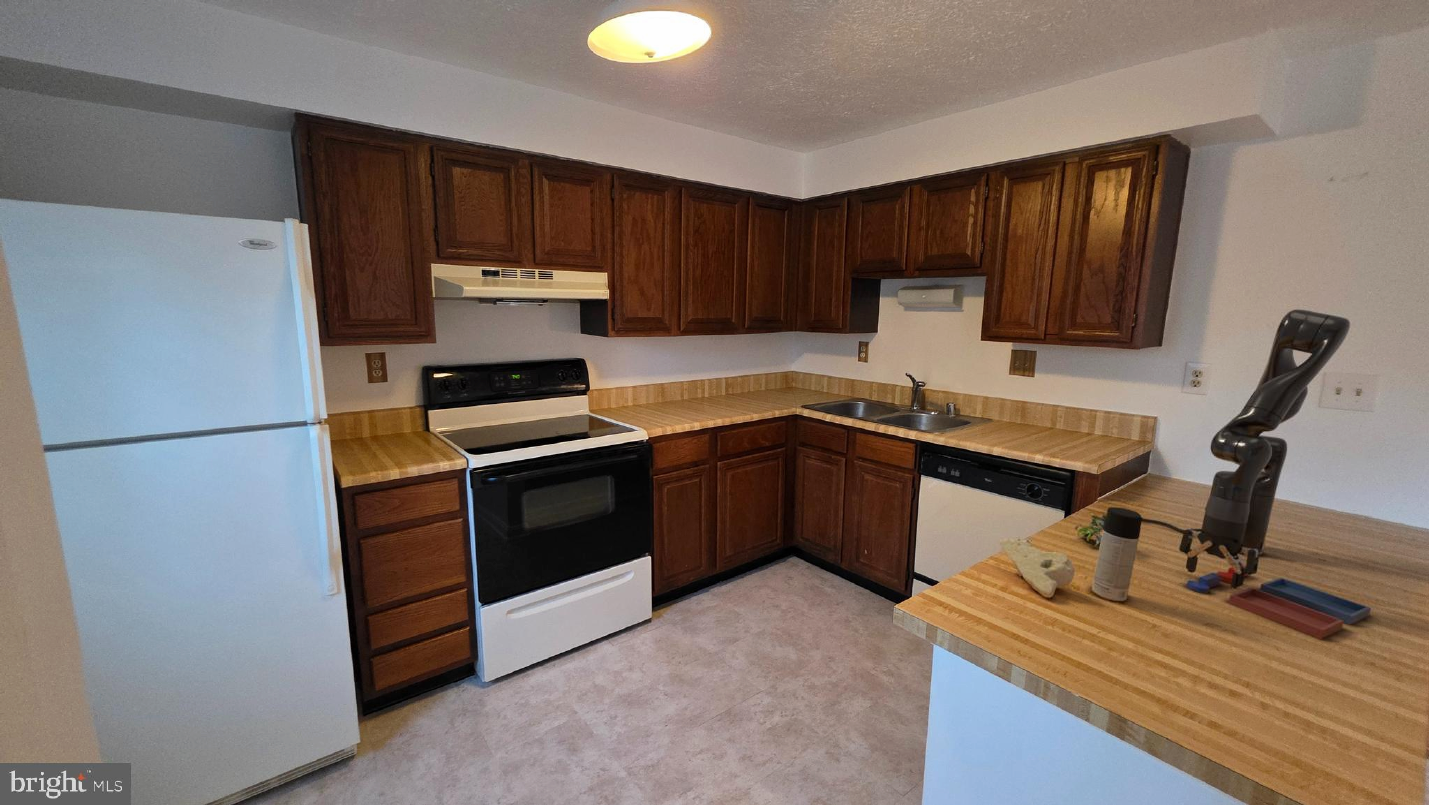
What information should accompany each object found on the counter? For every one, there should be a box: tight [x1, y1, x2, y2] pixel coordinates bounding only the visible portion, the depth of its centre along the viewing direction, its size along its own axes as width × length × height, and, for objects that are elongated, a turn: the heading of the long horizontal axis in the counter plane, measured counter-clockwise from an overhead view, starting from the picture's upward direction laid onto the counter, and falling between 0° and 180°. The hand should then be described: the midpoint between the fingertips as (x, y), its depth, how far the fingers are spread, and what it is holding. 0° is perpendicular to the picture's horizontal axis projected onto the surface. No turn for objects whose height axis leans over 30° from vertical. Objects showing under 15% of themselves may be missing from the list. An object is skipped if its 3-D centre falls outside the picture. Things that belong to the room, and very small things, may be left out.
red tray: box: [1228, 587, 1344, 640], centre depth 123 cm, size 15×10×2 cm
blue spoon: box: [1186, 572, 1221, 594], centre depth 135 cm, size 10×4×2 cm, turn 116°
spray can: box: [1091, 506, 1143, 602], centre depth 127 cm, size 7×7×20 cm
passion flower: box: [1074, 512, 1107, 549], centre depth 156 cm, size 11×11×12 cm
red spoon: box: [1216, 565, 1248, 584], centre depth 141 cm, size 10×4×2 cm, turn 116°
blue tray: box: [1259, 577, 1372, 626], centre depth 130 cm, size 15×10×2 cm
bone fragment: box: [999, 537, 1075, 599], centre depth 131 cm, size 15×7×15 cm
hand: (1212, 579), depth 136 cm, fingers open, 8 cm apart
